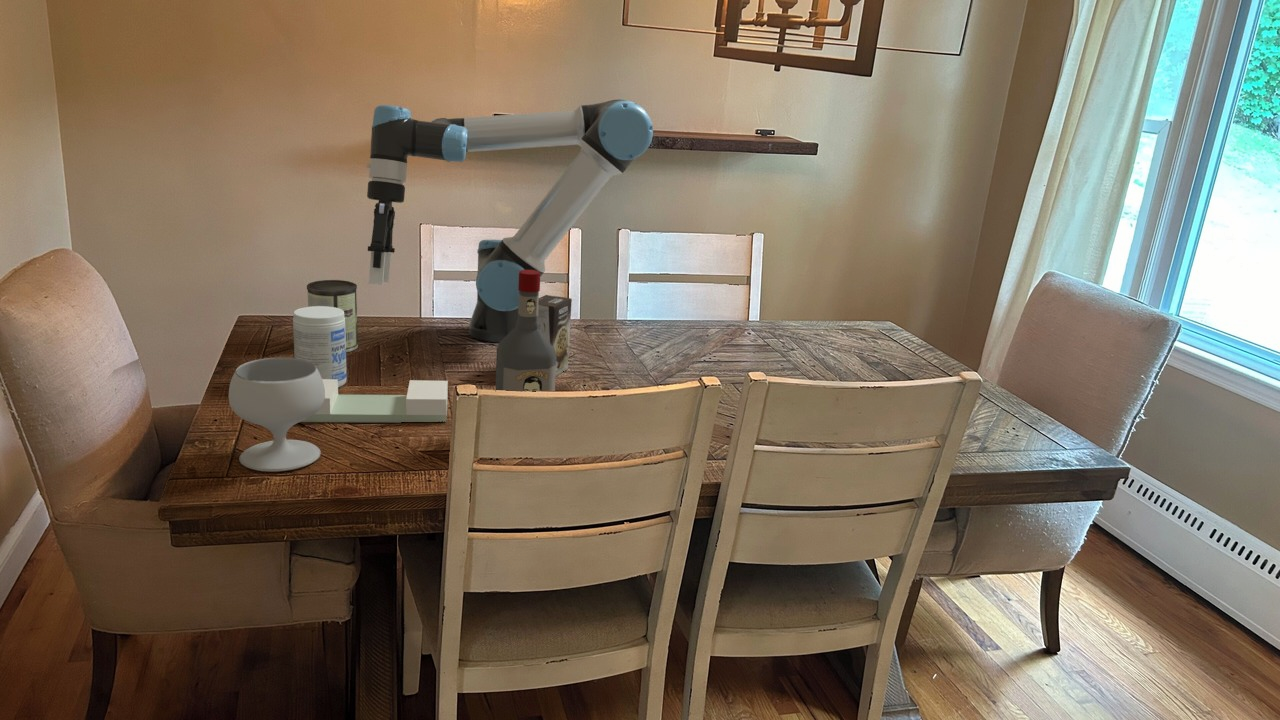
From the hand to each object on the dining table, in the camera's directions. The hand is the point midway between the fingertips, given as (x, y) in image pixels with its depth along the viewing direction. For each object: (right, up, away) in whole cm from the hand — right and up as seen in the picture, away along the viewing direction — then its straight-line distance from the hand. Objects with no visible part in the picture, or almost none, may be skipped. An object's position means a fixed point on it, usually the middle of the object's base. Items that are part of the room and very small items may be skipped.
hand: (379, 283), depth 190 cm
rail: (+6, -26, -26) cm, 37 cm away
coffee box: (+35, -19, +3) cm, 40 cm away
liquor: (+35, -30, -32) cm, 56 cm away
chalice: (-2, -32, -46) cm, 56 cm away
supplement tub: (-7, -21, -14) cm, 26 cm away
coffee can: (-13, -14, +9) cm, 20 cm away
